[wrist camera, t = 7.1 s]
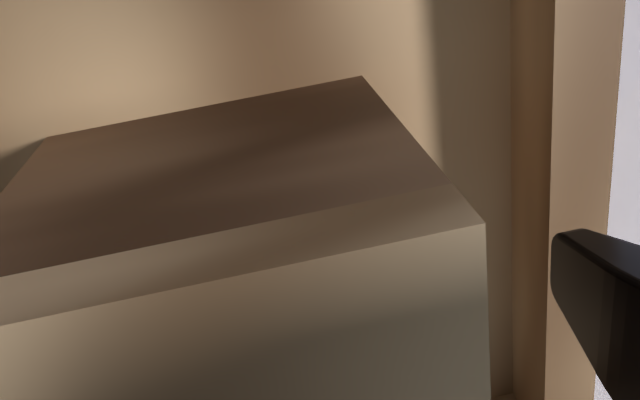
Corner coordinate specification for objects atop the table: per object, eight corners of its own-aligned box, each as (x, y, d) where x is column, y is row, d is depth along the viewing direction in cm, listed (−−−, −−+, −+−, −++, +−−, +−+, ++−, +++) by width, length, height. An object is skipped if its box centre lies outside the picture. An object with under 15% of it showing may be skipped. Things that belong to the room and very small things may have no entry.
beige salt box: (362, 75, 9) (495, 235, 5) (393, 320, 11) (502, 592, 7) (46, 136, 9) (-149, 372, 4) (142, 376, 11) (82, 698, 7)
